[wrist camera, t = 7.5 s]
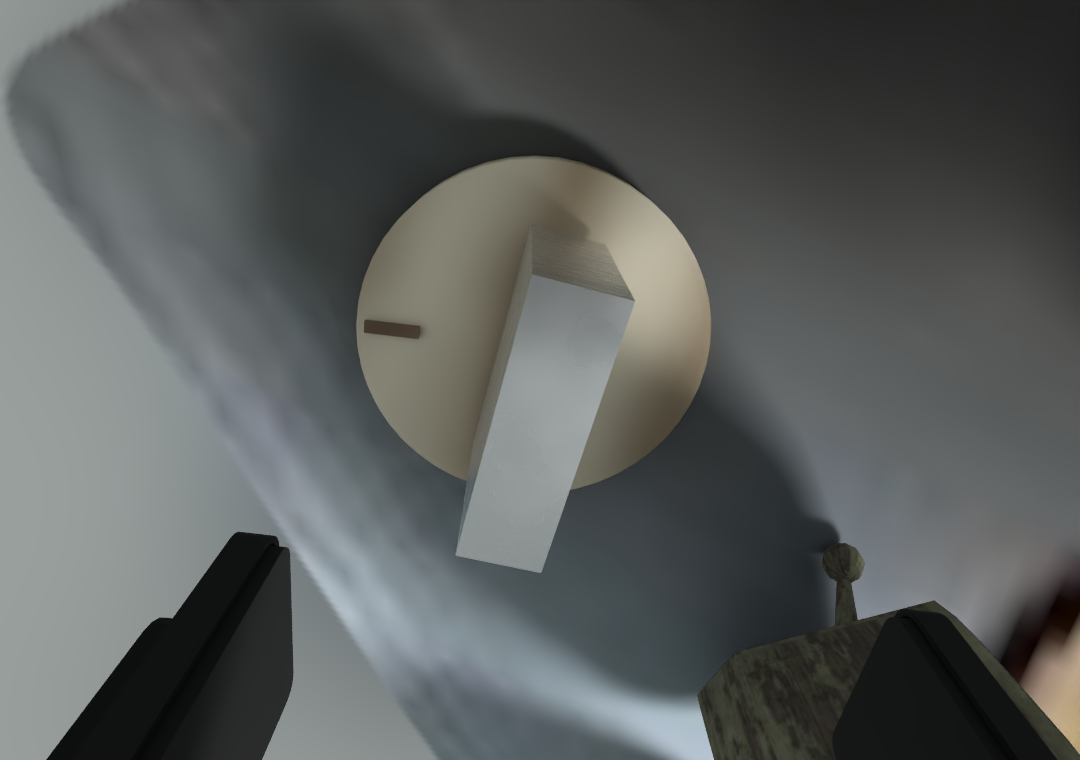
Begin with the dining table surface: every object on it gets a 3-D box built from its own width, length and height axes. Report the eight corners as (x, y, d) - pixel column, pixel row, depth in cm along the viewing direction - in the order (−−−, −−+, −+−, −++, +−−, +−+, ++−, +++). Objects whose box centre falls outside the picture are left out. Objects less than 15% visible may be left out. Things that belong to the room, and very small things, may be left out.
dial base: (738, 182, 21) (754, 189, 20) (661, 487, 26) (669, 511, 24) (371, 130, 20) (358, 133, 19) (362, 455, 25) (351, 478, 24)
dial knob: (530, 223, 20) (532, 273, 14) (605, 244, 20) (635, 301, 14) (463, 479, 23) (443, 597, 18) (527, 493, 24) (527, 613, 18)
